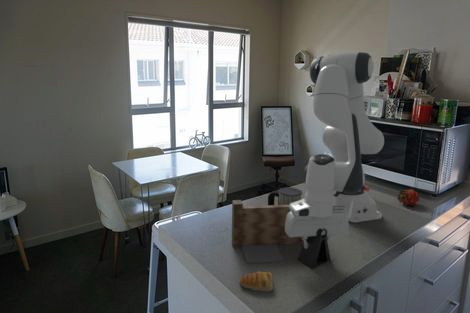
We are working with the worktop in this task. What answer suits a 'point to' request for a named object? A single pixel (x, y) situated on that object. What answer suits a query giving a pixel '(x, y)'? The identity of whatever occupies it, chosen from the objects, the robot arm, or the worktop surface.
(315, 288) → the worktop surface
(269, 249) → the door mat
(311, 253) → the phone stand
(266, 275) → the pastry
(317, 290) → the worktop surface
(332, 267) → the worktop surface
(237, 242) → the door panel
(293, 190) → the milk frother
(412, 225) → the worktop surface
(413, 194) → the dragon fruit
